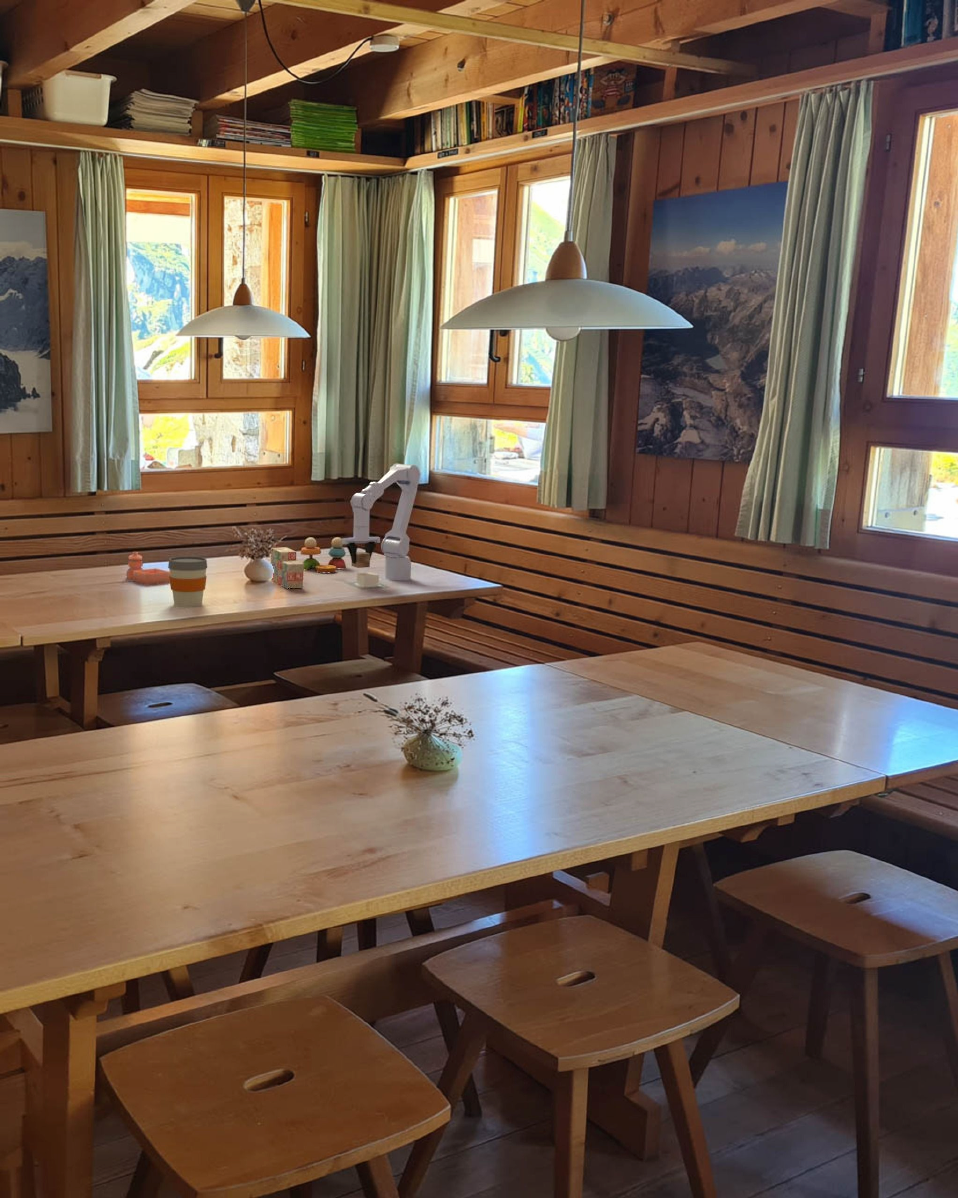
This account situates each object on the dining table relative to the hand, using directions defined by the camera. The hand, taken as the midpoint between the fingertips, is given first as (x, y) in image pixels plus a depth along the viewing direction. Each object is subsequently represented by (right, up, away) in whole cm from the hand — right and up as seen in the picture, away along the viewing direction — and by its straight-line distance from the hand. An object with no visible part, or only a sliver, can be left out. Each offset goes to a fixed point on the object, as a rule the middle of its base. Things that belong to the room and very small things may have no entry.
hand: (360, 562), depth 436 cm
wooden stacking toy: (-16, -2, +33) cm, 37 cm away
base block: (+3, -8, 0) cm, 9 cm away
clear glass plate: (+3, -9, 0) cm, 9 cm away
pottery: (-78, -7, -6) cm, 79 cm away
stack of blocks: (-27, -8, -2) cm, 28 cm away
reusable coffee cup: (-53, -15, -45) cm, 71 cm away
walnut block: (0, -1, 0) cm, 1 cm away
